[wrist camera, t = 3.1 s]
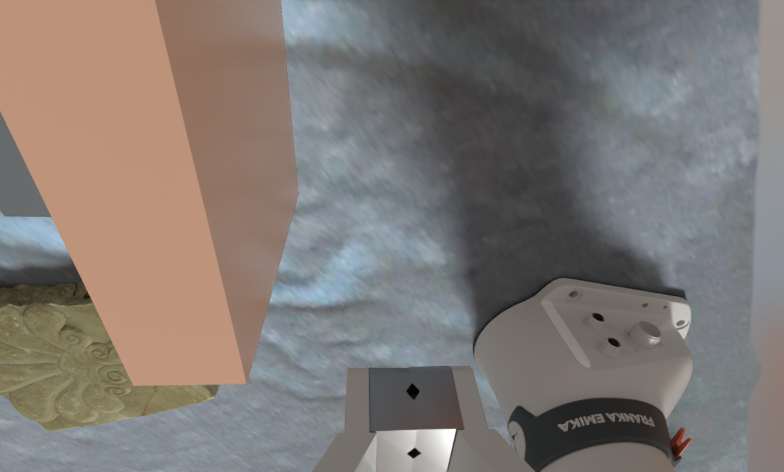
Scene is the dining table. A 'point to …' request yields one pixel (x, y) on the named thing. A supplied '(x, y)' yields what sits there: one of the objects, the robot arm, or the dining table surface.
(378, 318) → the dining table surface
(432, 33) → the dining table surface
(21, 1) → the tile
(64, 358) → the decorative tile
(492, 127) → the dining table surface
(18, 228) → the dining table surface
